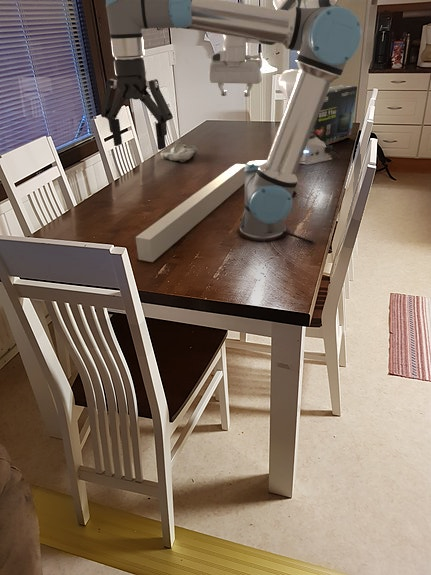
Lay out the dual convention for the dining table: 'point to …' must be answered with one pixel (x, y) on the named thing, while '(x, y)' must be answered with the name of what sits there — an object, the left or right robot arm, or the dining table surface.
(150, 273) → the dining table surface
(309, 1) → the right robot arm
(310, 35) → the left robot arm
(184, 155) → the fossil
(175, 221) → the post
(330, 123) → the router box
